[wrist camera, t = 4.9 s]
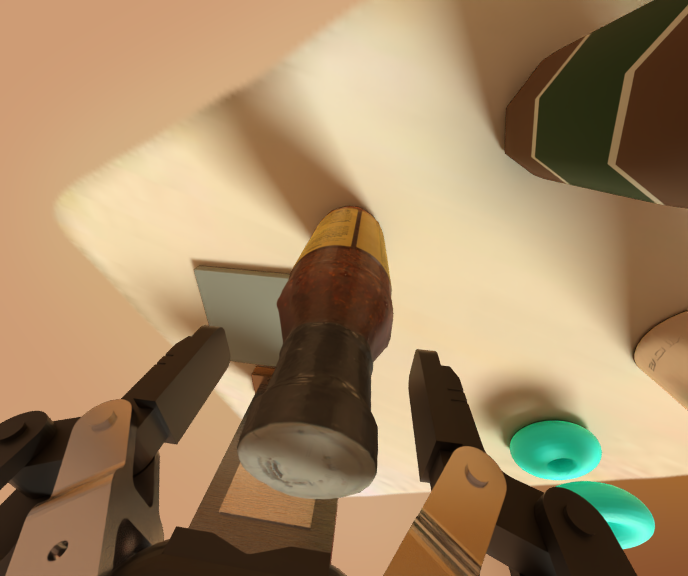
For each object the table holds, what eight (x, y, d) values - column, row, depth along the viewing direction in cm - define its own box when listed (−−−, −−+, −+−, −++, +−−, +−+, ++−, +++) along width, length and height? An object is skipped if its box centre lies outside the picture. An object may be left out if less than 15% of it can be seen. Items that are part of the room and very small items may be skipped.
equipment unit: (359, 379, 33) (342, 573, 18) (356, 408, 36) (339, 596, 21) (256, 366, 35) (160, 538, 20) (261, 395, 38) (182, 564, 23)
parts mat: (316, 276, 27) (314, 281, 26) (318, 365, 33) (316, 371, 32) (199, 265, 28) (193, 269, 27) (222, 354, 34) (218, 359, 33)
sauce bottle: (311, 254, 26) (171, 480, 8) (329, 192, 22) (167, 352, 5) (372, 276, 26) (357, 536, 9) (398, 219, 23) (455, 447, 6)
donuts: (602, 562, 29) (524, 537, 28) (551, 466, 38) (490, 445, 37) (692, 535, 24) (601, 503, 23) (609, 431, 33) (541, 405, 32)
